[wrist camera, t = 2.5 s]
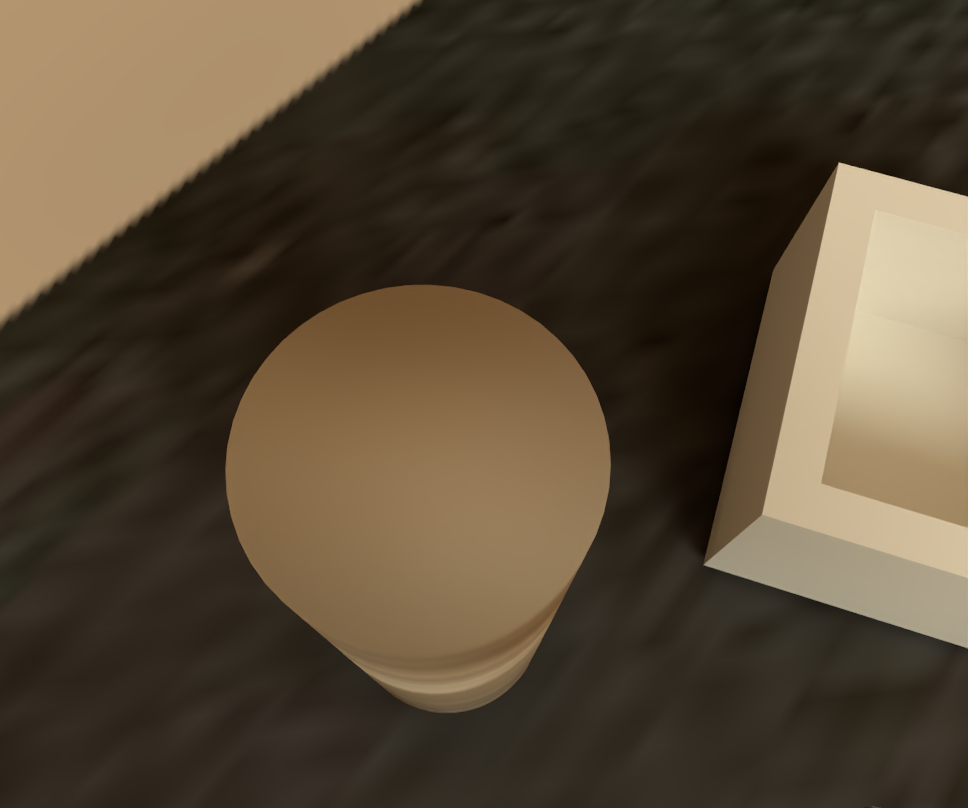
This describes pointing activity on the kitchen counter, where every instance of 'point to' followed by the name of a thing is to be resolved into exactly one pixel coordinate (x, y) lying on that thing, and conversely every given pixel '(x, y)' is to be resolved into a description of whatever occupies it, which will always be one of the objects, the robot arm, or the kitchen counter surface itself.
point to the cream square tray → (860, 412)
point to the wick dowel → (421, 486)
